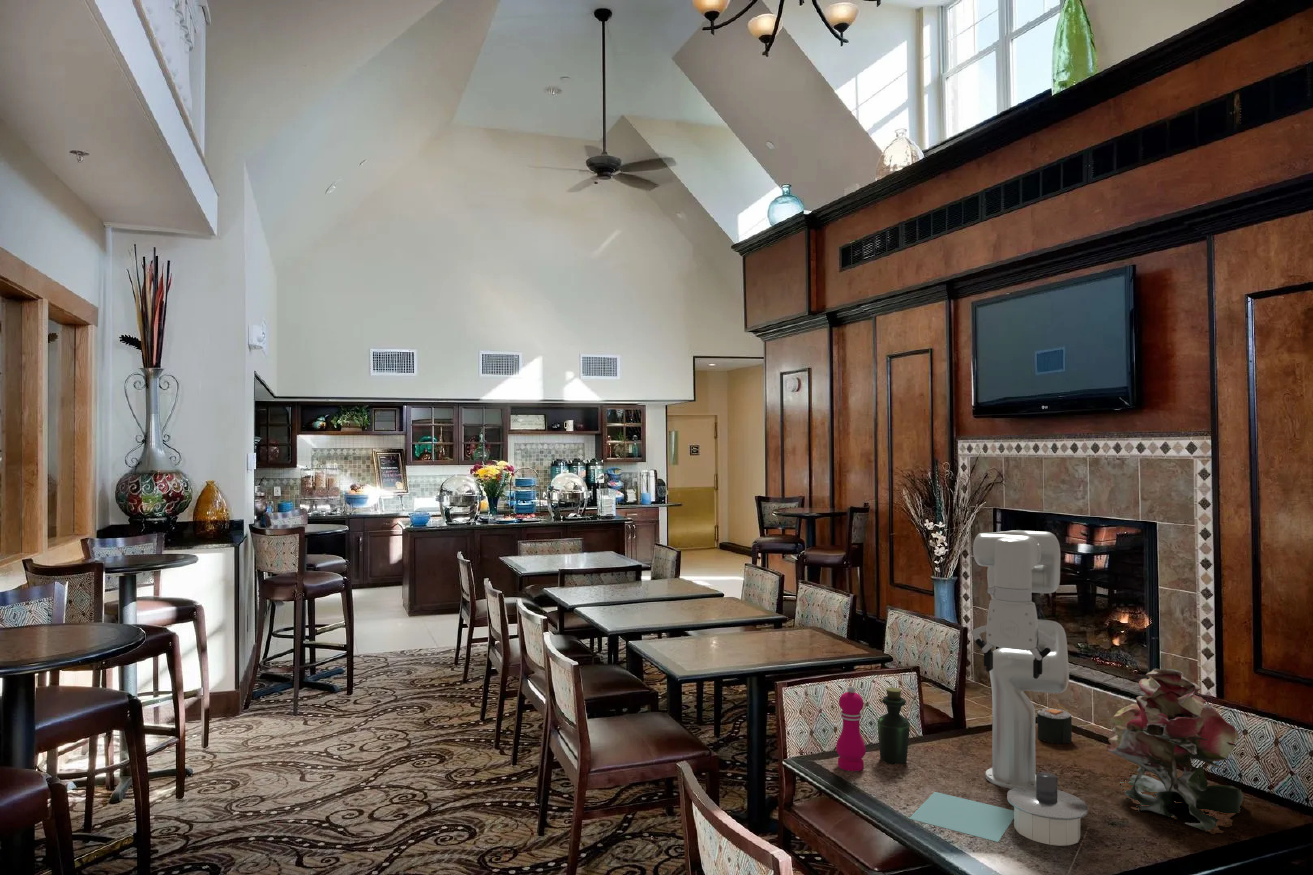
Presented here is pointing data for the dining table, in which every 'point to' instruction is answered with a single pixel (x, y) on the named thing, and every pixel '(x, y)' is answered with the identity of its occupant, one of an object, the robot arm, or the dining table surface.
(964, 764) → the dining table surface
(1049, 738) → the sushi
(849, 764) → the pepper mill
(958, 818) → the teal mat
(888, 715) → the potion bottle
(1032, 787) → the metal lid
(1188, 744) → the rose bouquet
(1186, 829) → the dining table surface
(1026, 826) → the white faceted bowl
